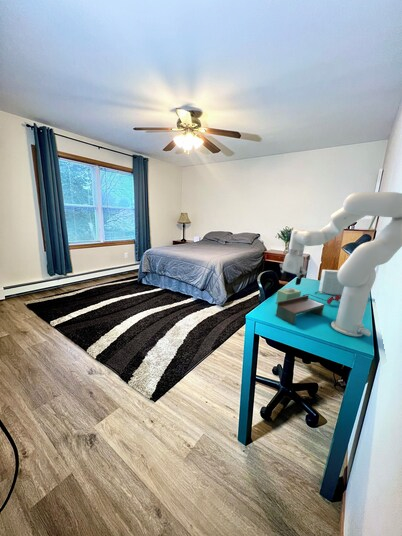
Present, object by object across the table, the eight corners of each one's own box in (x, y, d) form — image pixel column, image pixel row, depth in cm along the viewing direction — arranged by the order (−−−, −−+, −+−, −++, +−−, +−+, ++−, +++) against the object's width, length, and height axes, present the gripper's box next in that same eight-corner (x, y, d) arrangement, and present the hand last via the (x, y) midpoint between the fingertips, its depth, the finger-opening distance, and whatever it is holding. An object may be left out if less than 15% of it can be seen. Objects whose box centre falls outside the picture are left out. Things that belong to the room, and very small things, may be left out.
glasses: (327, 306, 126) (329, 298, 125) (302, 296, 140) (303, 288, 138) (340, 302, 133) (342, 294, 132) (315, 293, 147) (316, 286, 145)
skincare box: (349, 293, 150) (354, 271, 146) (353, 296, 144) (359, 273, 140) (317, 290, 151) (322, 268, 147) (321, 293, 146) (325, 271, 142)
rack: (322, 315, 114) (325, 301, 112) (292, 324, 102) (295, 309, 100) (305, 307, 122) (307, 295, 120) (275, 315, 110) (277, 301, 108)
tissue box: (298, 304, 126) (301, 289, 124) (285, 307, 120) (287, 292, 118) (289, 300, 132) (291, 285, 129) (275, 303, 126) (278, 288, 124)
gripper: (278, 249, 124) (273, 278, 128) (305, 256, 110) (299, 287, 114) (287, 249, 128) (282, 276, 132) (314, 255, 113) (308, 286, 118)
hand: (290, 281), depth 123 cm, fingers open, 9 cm apart
